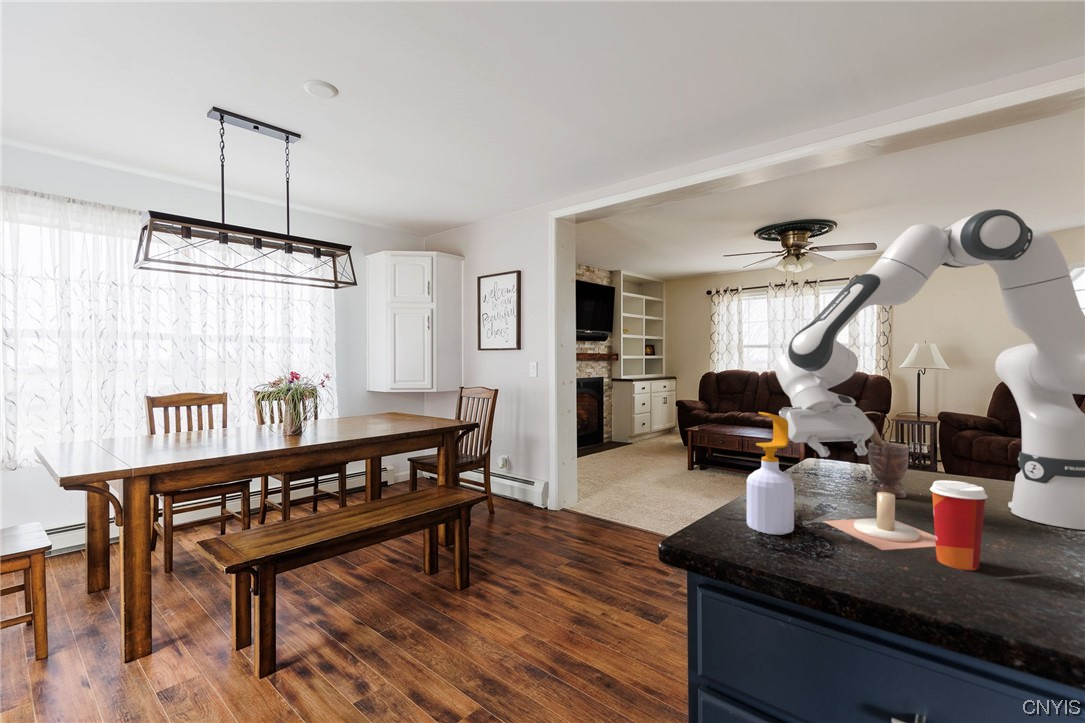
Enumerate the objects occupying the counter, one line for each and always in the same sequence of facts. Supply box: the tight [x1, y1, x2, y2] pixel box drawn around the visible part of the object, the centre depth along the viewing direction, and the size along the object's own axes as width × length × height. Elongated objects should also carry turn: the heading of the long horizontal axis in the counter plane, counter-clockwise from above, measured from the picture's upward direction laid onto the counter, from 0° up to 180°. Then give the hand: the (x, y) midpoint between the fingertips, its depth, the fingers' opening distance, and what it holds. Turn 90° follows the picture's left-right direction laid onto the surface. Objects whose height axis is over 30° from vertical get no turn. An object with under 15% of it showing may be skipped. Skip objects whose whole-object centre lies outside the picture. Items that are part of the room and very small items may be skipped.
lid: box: [854, 492, 919, 542], centre depth 101 cm, size 11×11×8 cm
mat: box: [822, 517, 936, 551], centre depth 101 cm, size 16×16×1 cm
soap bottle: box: [746, 411, 795, 536], centre depth 105 cm, size 9×9×25 cm
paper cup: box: [929, 479, 988, 571], centre depth 86 cm, size 8×8×14 cm
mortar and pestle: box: [867, 418, 910, 499], centre depth 128 cm, size 12×9×20 cm
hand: (844, 454), depth 112 cm, fingers open, 8 cm apart
